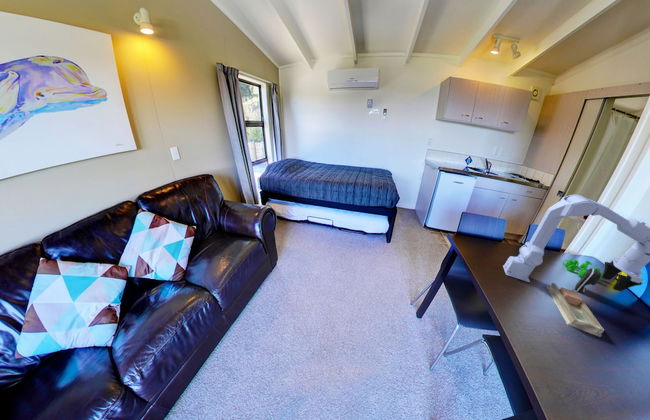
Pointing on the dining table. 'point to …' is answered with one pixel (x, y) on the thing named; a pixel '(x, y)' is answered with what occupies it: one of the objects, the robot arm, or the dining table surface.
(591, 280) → the battery charger
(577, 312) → the chute
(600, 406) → the dining table surface
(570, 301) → the block
